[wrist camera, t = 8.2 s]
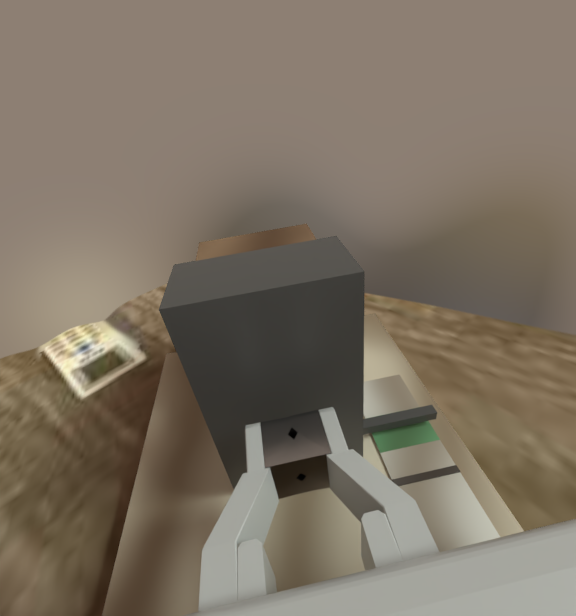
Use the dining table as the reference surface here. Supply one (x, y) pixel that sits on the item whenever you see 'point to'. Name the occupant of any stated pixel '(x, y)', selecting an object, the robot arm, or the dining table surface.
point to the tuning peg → (274, 341)
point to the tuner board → (298, 508)
